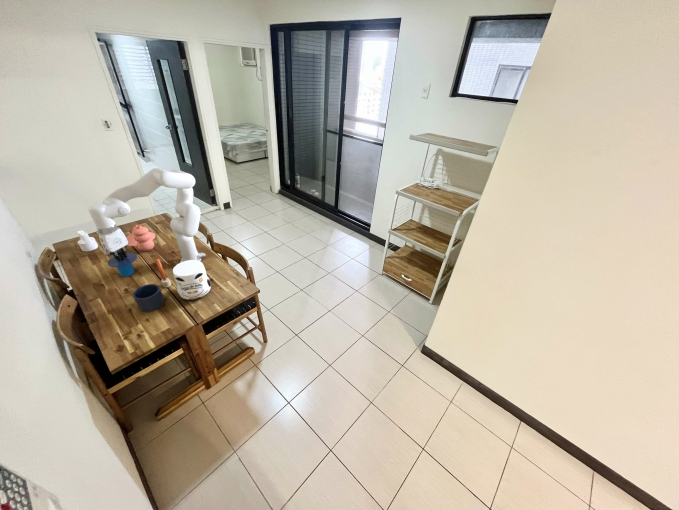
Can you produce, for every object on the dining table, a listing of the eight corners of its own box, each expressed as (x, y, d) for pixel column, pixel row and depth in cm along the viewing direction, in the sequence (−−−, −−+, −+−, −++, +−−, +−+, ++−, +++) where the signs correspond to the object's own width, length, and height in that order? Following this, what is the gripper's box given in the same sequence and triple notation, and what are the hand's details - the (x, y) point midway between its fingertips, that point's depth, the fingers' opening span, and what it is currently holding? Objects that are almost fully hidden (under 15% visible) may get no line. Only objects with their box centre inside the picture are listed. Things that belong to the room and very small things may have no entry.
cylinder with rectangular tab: (100, 247, 191) (92, 232, 184) (85, 252, 185) (76, 237, 178) (94, 243, 195) (86, 228, 188) (79, 248, 188) (70, 233, 182)
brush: (171, 282, 165) (161, 256, 155) (171, 286, 162) (161, 260, 151) (163, 283, 164) (152, 258, 153) (162, 288, 160) (152, 262, 150)
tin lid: (125, 252, 155) (120, 242, 151) (143, 257, 152) (139, 247, 148) (102, 264, 144) (96, 254, 141) (120, 270, 141) (115, 260, 138)
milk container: (191, 307, 149) (182, 281, 139) (173, 294, 157) (163, 269, 147) (218, 289, 162) (212, 265, 152) (200, 279, 169) (192, 255, 159)
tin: (153, 294, 156) (147, 281, 151) (169, 299, 153) (164, 287, 148) (133, 308, 147) (127, 295, 141) (151, 314, 144) (145, 301, 139)
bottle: (126, 277, 166) (105, 234, 149) (117, 274, 168) (96, 231, 151) (137, 271, 172) (118, 228, 155) (128, 268, 174) (109, 225, 157)
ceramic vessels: (118, 237, 202) (107, 214, 192) (150, 228, 215) (142, 206, 205) (132, 257, 183) (121, 233, 172) (166, 246, 196) (158, 223, 185)
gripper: (96, 237, 129) (112, 268, 140) (128, 223, 142) (140, 252, 153) (85, 234, 131) (101, 265, 141) (117, 220, 144) (130, 249, 154)
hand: (122, 258), depth 147 cm, fingers closed on tin lid, 2 cm apart
